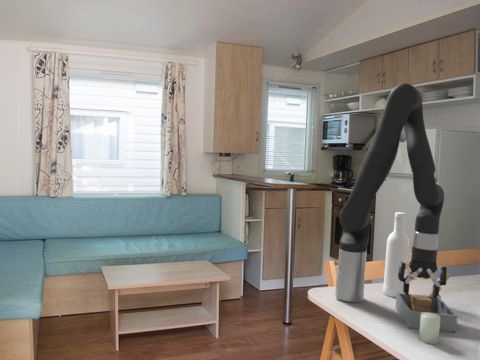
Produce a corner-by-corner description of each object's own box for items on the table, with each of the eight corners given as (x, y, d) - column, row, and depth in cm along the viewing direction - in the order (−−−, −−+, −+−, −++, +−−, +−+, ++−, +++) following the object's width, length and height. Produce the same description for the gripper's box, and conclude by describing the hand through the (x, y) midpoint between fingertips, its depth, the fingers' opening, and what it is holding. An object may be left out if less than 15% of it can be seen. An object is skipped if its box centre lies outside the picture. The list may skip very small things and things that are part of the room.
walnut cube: (409, 308, 145) (411, 293, 145) (425, 310, 145) (426, 295, 144) (414, 314, 140) (415, 299, 140) (430, 315, 140) (431, 300, 139)
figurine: (430, 299, 158) (433, 266, 157) (449, 303, 155) (452, 269, 154) (425, 305, 151) (428, 270, 150) (444, 309, 148) (447, 274, 147)
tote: (408, 328, 130) (409, 311, 130) (395, 307, 147) (396, 292, 147) (455, 332, 129) (456, 316, 128) (436, 311, 146) (438, 296, 145)
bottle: (408, 298, 157) (415, 215, 155) (386, 297, 157) (393, 213, 155) (401, 291, 165) (407, 211, 163) (380, 290, 165) (386, 210, 163)
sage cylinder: (421, 343, 120) (423, 318, 120) (416, 335, 125) (418, 311, 125) (441, 345, 120) (443, 319, 119) (434, 337, 125) (436, 313, 124)
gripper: (444, 245, 144) (439, 294, 145) (399, 241, 145) (394, 289, 147) (452, 250, 136) (447, 302, 137) (404, 246, 138) (399, 297, 139)
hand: (420, 295), depth 142 cm, fingers open, 8 cm apart
